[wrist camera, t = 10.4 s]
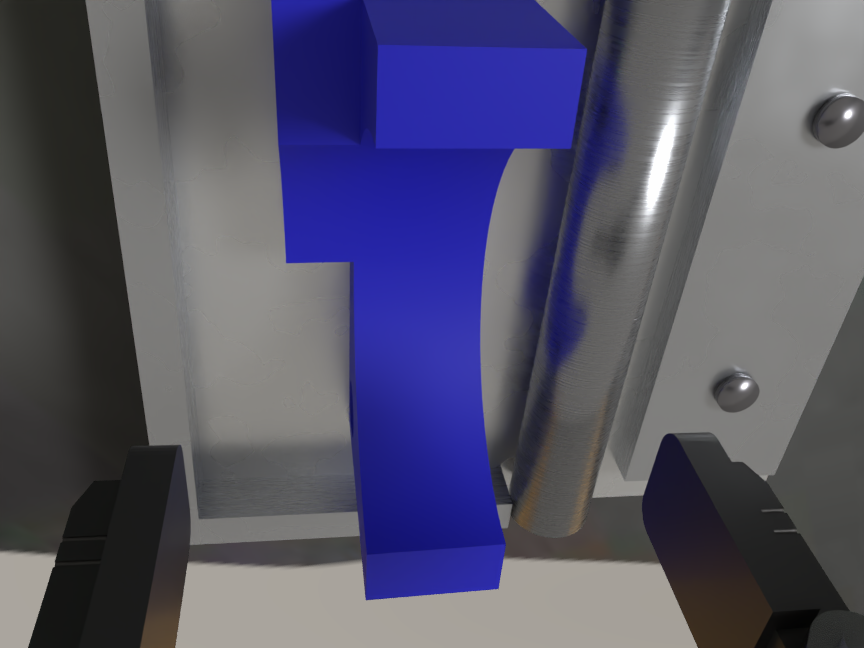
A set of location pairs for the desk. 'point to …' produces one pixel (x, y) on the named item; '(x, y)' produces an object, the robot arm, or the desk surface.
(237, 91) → the hinge plate
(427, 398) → the blue stepped long block
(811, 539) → the desk surface
